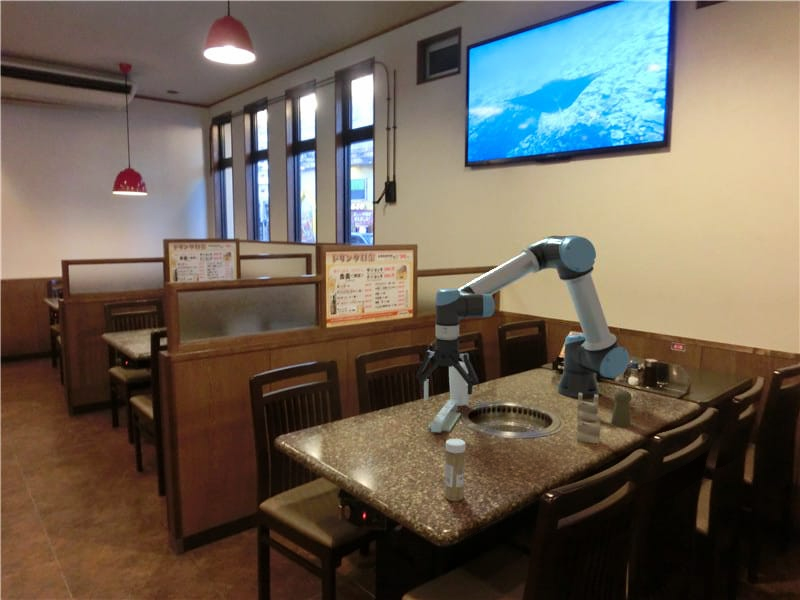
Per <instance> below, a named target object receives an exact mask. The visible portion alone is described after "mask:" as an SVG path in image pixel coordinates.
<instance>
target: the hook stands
mask: <svg viewBox="0 0 800 600" xmlns="http://www.w3.org/2000/svg"><path fill="white" fill-rule="evenodd" d="M577 399H578V401H577V416H576V417H577V433H576V442H580V443H581V442H582V443H588V442H589V444H595V443H597V444H596V445H599V444H600V437H601V435H600V434H601V419H602V418H601V417H602V416H601V414H600V413H599V412H598V411H599V410H598V409H599V395H595V394H594V398H593V402H588V401H583V398H582V393H579V396H578V398H577ZM598 413H599V414H598ZM587 419H588V421H595V420H596V421H595V423H593V422H584V421H583V420H587Z"/></svg>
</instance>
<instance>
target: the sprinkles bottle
mask: <svg viewBox="0 0 800 600" xmlns="http://www.w3.org/2000/svg"><path fill="white" fill-rule="evenodd" d="M445 452H446V453H445V460H446V461H445V470H444V471H445V475H444V476H445V478H444V479H445V480H444V481H445V492H444V497H445V498H446V499H447V500H449V501H453V502H459V501H461V500H463V499H464V498H465V494H464V490H465V487H464V485H465V453H466V441H465V440H463V439H461V438H449V439H447V440H446V441H445Z"/></svg>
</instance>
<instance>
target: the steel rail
mask: <svg viewBox="0 0 800 600" xmlns="http://www.w3.org/2000/svg"><path fill="white" fill-rule="evenodd" d="M458 407H459V406H458V400H451V399H448V400H447V401H446V403H445V404H444V405H443V407H442V408H441V409H440V410H439V412H438V413H437V414H436V416H435V417H434V418H433V420H432V421H431V422H430V423H431V429H430V431H431V433H438V434H439V433H440V434H441V433H442V432H443V431H442V430H443V429H444V427H445V426H446V424H447V423H448V422H449V420H450V419H451V417H452V416H453V414H454V413H455V412H457V410H458Z"/></svg>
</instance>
